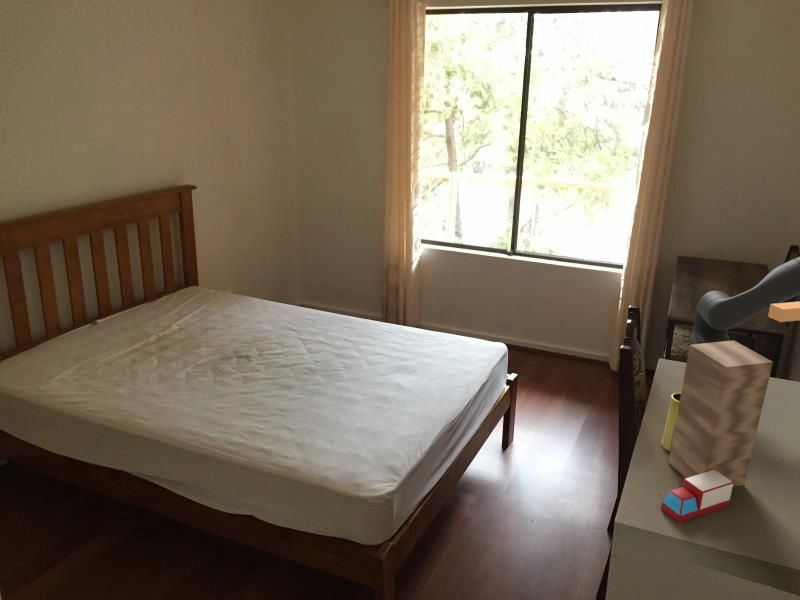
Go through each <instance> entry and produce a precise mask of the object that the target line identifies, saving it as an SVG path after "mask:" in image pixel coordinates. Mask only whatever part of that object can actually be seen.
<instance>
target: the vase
mask: <svg viewBox="0 0 800 600" xmlns="http://www.w3.org/2000/svg"><path fill="white" fill-rule="evenodd" d="M680 397H681V392H675V393H674V392H673V394H671V396H670V400H669V405H668V406H669V407H668V412H667V416H666V421H665V426H664V429H663V434H662V440H661V442H660V445H661V447H662V448H663V449H665V450H666V451H667V452H670V451H671V446H672V440H673V435H674V429H675V424H676V418H677V413H678V408H679V402H680Z"/></svg>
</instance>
